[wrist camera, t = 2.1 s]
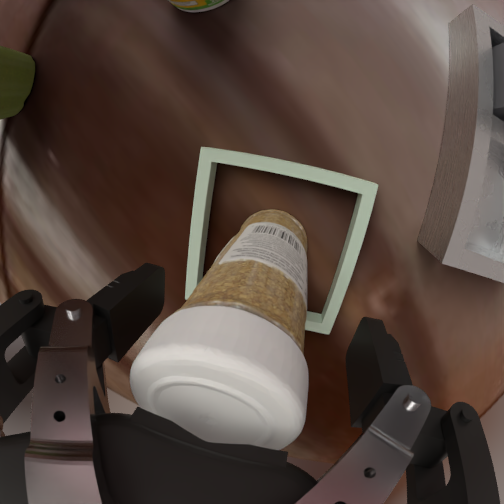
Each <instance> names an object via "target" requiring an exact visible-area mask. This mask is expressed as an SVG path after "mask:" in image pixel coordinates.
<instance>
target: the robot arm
mask: <svg viewBox="0 0 504 504" xmlns="http://www.w3.org/2000/svg"><path fill="white" fill-rule="evenodd" d="M164 288H165V270H164V268H163V267H160V266H157V265H153V264H150V263H145V264H143V265H142V266H141V267H139V268H138V269H136V270H135V271H130V272H127V273H124V274H122V275H120V276H119V277H118V278H116V279H115V280H114V282H113V281H112V282H111V283H109V284H108V286H105V287H104V288H103V289H101V290H100V291H99V292H97V293H96V294H95V295H93V296H92V297H91V298H89V299H88V300H87V301H85V300H82V299H71V300H67V301H65V302H63V303H61V304H60V305H59V306H58V307H52V306H48V305H44V303H43V299H42V295H41V293H40V292H38V291H36V290H24V291H21V292H19V293H17V294H15V295H14V296H13V297H11V298H10V299H8V300H7V301H6V302H4V303H3V304H2V305H0V504H383V503H384V501H385V500H386V499H387V497H388V496H389V494H390V493H391V491H392V490H393V488H394V487H395V485H396V484H397V482H398V481H399V479H400V478H401V476H402V474H403V473H404V471H405V470H406V478H407V504H500V500H499V493H498V487H497V482H496V477H495V472H494V467H493V463H492V459H491V456H490V452H489V448H488V444H487V441H486V438H485V434H484V431H483V428H482V425H481V422H480V419H479V416H478V414H477V412H476V411H475V409H474V408H473V407H472V406H470V405H469V404H467V403H464V402H457V403H455V404H453V405H452V407H451V408H450V409H449V410H448V411H445V410H442V409H438V408H435V407H432V406H431V402H430V399H429V397H428V396H427V394H426V393H425V392H424V391H423V390H421V389H420V388H418V387H415V386H413V385H412V382H411V379H410V376H409V373H408V370H407V367H406V364H405V362H404V358H403V355H402V354H401V350H400V347H399V344H398V342H397V341H396V340H395V339H394V338H393V337H392V335H391V334H387V332H386V329H385V326H384V324H383V321H382V320H379V319H373V318H368V317H363V318H362V320H361V321H360V324H359V326H358V328H357V330H356V332H355V335H354V337H353V339H352V341H351V343H350V345H349V348H348V350H347V354H346V370H347V379H348V390H349V402H350V416H351V427H361V428H362V432H363V433H362V434H361V435H360V436H359V437H358V438H357V440H356V441H355V442H354V443H353V444H352V445H351V446H350V448H349V449H348V450H347V451H346V452H345V453H344V454H343V455H342V456H341V457H340V458H339V459H338V460H337V461H336V463H335V464H334V465H333V466H332V467H331V468H330V469H329V470H328V471H326V473H325V474H324V475H322V476H321V477H320V478H319V479H318V480H317V481H316V480H315V479H314V478H313V477H312V476H310V475H309V474H308V473H307V472H305V471H304V470H302V469H300V468H299V467H297V466H295V465H293V464H291V463H288V462H286V461H287V455H288V452H285V451H279V450H274V449H269V448H264V447H259V446H254V445H250V444H227V443H213V442H207V441H204V440H202V439H200V438H199V437H197V436H195V435H194V434H192V433H190V432H189V431H187V430H185V429H184V428H182V427H180V426H179V425H177V424H176V423H174V422H173V421H171V420H168V419H166V418H163V417H161V416H158V415H156V414H154V413H151V412H149V411H146V410H144V409H142V408H140V407H137V408H136V410H135V411H134V413H133V414H132V415H130V414H122V413H111V412H110V408H109V403H108V396H107V387H106V376H105V366H104V361H105V360H106V359H107V358H110V359H112V360H114V361H116V362H119V361H120V360H121V358H122V357H123V356H124V355H125V354H126V353H127V351H128V350H129V349H130V348H131V347H132V346H133V344H134V343H135V342H136V341H137V340H138V339H139V337H140V336H141V335H142V334H143V333H144V332H145V330H146V329H147V328H148V327H149V326H150V325H151V324H152V322H153V321H154V320H155V319H156V318H157V317H158V316H159V314H160V313H161V311H162V309H163V305H164ZM20 335H21V336H22V338H23V341H24V344H25V346H24V347H23V348H22V349H21V350H20V351H19V352H18V353H17V354H16V355H15V356H14V357H13V358H12V359H11V360H10V361H9V362H8V363H6V360H5V356H4V354H5V350H6V348H7V347H8V346H9V345H10V344H11V343H12V342H13V341H14V340H16V339H17V338H18V337H19V336H20ZM33 387H34V388H33ZM32 388H33V398H32V411H31V432H26V433H21V434H15V435H10V436H5V434H4V432H3V431H2V429H3V423H4V422H5V421H6V420H7V418H8V417H9V416H10V414H11V413H12V412H13V411H14V410H15V408H16V407H17V406H18V405H19V403H20V402H21V401H22V400H23V399H24V398H25V396H26V395H27V394H28V393H29V392H30V391H31V389H32ZM447 456H448V459H449V465H450V471H451V477H450V480H449V482H448V484H447V486H446V484H445V477H444V469H443V463H442V461H443V460H444V459H445V458H446V457H447Z"/></svg>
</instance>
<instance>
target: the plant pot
mask: <svg viewBox="0 0 504 504" xmlns="http://www.w3.org/2000/svg"><path fill="white" fill-rule="evenodd" d="M34 75H35V62H34V61H33V59H32V57H31V56H29V55H27V54H24V53H21V52H18V51H15V50H12V49H9V48H6V47H3V46H0V119H3V118H7V117H11V116H14V115H16V114H17V113H19V112H20V110H21V109H22V108H23V106H24V101H25V99H26V98H27V96H28V95H29V94H30V91H31V88H32V85H33V80H34Z"/></svg>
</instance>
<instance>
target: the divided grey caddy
mask: <svg viewBox="0 0 504 504" xmlns="http://www.w3.org/2000/svg"><path fill="white" fill-rule="evenodd" d="M501 43H504V26H503V25H502V24H501V23H500V22H498V21H497V20H495V19H494V18H493V17H491V16H490V15H488V14H487V13H485V12H484V11H482V10H481V9H479V8H478V7H476V6H475V5H473V4H472V5H471V6H469V7H468V8H467V9H466V10H464V11H463V12H462V13H461V14H459V15H458V16H457V17H456V18H454V19H453V20H452V21H451V22H449V47H450V62H449V86H448V99H447V109H446V118H445V126H444V133H443V139H442V145H441V151H440V156H439V161H438V166H437V171H436V175H435V180H434V184H433V188H432V192H431V196H430V200H429V203H428V207H427V211H426V214H425V217H424V221H423V224H422V227H421V231H420V234H419V237H418V240H417V241H418V242H419V243H420V244H422V245H423V246H424V247H425V248H426V249H427V250H428V251H429V252H430V253H431V254H432V255H433V256H434V257H436V258H437V259H438V260H439V261H440V262H441V263H442V264H445V265H448V266H452V267H455V268H458V269H462V270H465V271H468V272H471V273H474V274H478V275H481V276H484V277H487V278H490V279H493V280H496V281H499V282H502V283H504V122H503V121H502V120H501V119H499V118H498V117H496V116H495V115H493V89H494V82H493V56H492V47H494V46H497V45H499V44H501Z"/></svg>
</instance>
